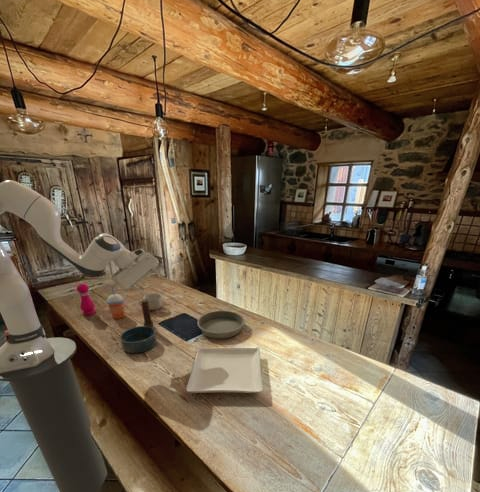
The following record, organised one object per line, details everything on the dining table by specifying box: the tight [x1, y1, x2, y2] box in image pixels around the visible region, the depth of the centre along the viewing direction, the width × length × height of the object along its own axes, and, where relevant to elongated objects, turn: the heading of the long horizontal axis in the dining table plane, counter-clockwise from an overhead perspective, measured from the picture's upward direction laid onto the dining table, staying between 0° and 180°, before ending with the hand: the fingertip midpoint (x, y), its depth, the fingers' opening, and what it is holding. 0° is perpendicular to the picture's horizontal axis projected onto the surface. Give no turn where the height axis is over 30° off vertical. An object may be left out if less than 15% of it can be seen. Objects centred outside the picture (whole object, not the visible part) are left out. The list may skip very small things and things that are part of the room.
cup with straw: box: [105, 286, 125, 320], centre depth 150 cm, size 9×9×18 cm
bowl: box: [119, 325, 157, 354], centre depth 124 cm, size 15×15×6 cm
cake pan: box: [196, 310, 246, 339], centre depth 139 cm, size 25×25×4 cm
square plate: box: [185, 347, 264, 394], centre depth 105 cm, size 27×27×4 cm
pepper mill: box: [76, 281, 96, 317], centre depth 154 cm, size 7×7×20 cm
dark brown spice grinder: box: [140, 298, 155, 329], centre depth 137 cm, size 5×5×16 cm
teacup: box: [138, 292, 163, 311], centre depth 161 cm, size 14×11×8 cm
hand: (150, 283), depth 120 cm, fingers open, 8 cm apart
